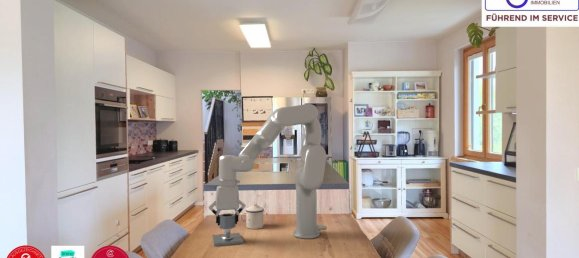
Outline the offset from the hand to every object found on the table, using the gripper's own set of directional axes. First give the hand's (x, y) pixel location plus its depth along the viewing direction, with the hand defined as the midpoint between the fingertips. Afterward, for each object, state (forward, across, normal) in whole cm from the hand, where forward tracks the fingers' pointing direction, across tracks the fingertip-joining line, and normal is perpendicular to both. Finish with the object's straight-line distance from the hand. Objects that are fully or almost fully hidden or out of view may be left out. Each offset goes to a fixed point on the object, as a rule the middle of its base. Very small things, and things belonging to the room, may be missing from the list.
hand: (227, 223), depth 144 cm
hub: (+1, 0, 0) cm, 1 cm away
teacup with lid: (+8, -14, -18) cm, 24 cm away
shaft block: (+7, 0, 0) cm, 7 cm away
